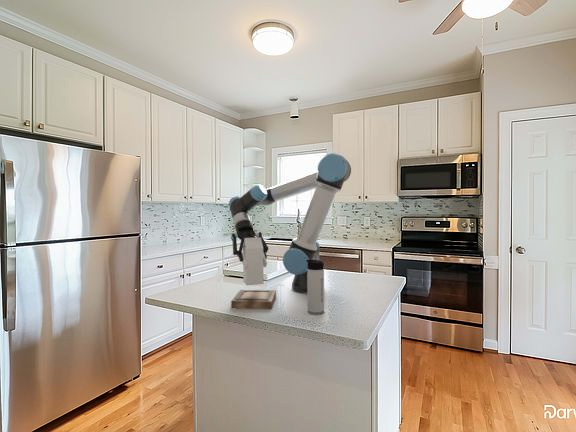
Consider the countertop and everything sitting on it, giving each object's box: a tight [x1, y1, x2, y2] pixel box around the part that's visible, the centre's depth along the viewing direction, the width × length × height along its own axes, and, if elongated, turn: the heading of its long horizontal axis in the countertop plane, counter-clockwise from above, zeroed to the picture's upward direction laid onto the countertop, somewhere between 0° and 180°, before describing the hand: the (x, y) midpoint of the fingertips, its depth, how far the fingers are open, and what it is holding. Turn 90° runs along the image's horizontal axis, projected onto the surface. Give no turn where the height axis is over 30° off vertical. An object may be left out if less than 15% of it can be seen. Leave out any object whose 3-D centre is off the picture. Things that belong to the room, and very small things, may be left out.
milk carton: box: [242, 237, 265, 286], centre depth 129 cm, size 7×7×19 cm
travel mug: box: [306, 260, 325, 316], centre depth 116 cm, size 6×7×20 cm
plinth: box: [230, 289, 277, 310], centre depth 129 cm, size 16×16×3 cm
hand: (255, 266), depth 126 cm, fingers closed on milk carton, 8 cm apart
